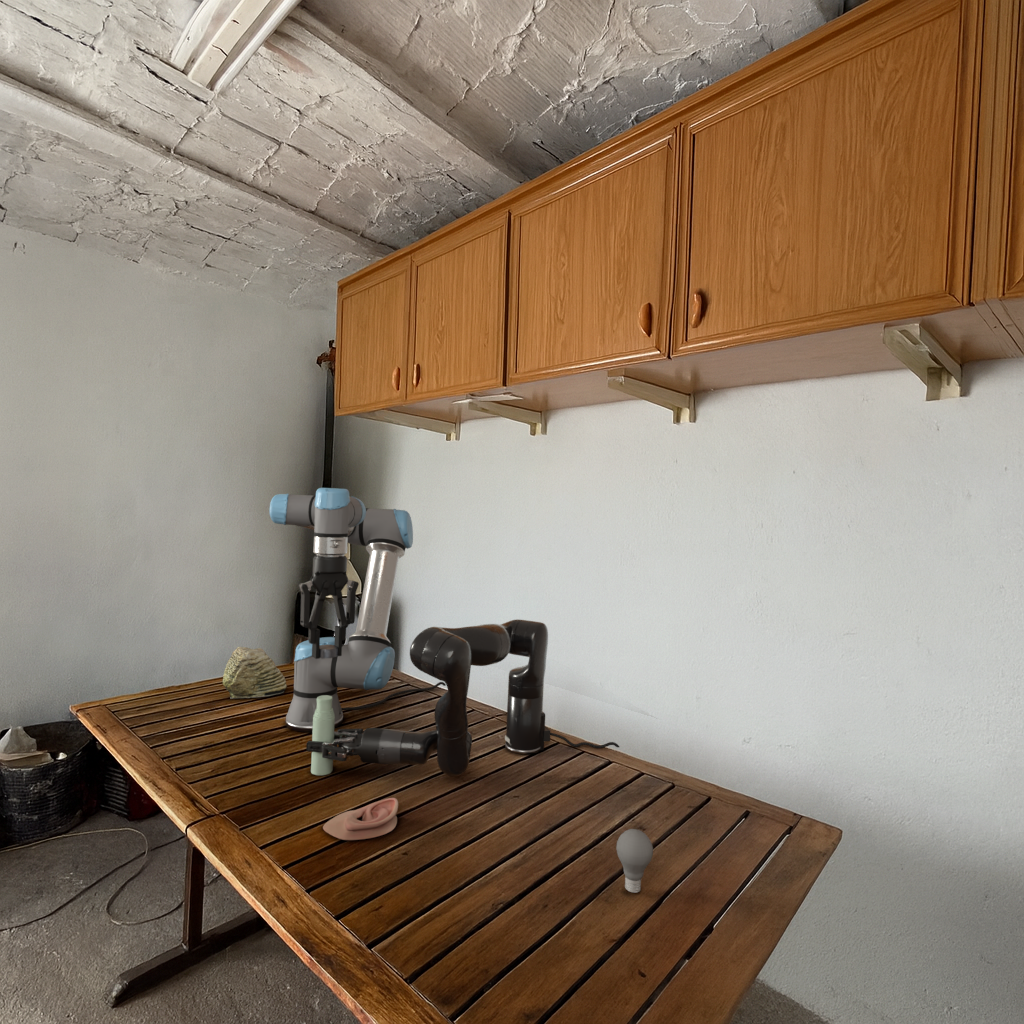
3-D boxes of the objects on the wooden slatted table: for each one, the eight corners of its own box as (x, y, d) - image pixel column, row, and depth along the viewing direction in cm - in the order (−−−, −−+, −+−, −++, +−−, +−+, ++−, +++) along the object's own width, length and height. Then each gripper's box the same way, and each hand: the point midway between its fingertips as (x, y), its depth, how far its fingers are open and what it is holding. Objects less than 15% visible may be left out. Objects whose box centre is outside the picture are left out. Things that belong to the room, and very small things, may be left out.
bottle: (306, 773, 145) (309, 698, 144) (320, 765, 149) (322, 693, 149) (323, 777, 143) (326, 702, 143) (336, 769, 148) (339, 696, 147)
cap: (341, 655, 147) (341, 646, 147) (328, 659, 143) (328, 650, 143) (325, 652, 149) (325, 643, 149) (311, 656, 145) (312, 647, 145)
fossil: (218, 695, 195) (220, 647, 195) (278, 685, 208) (279, 640, 207) (228, 703, 189) (230, 653, 188) (289, 692, 201) (290, 645, 201)
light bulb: (610, 879, 108) (613, 822, 108) (644, 879, 109) (647, 822, 109) (619, 902, 102) (622, 840, 102) (655, 901, 103) (658, 840, 103)
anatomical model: (315, 814, 118) (343, 787, 129) (314, 835, 118) (343, 807, 129) (382, 825, 115) (405, 796, 127) (381, 846, 116) (404, 816, 127)
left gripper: (296, 557, 137) (293, 664, 138) (373, 555, 148) (369, 655, 148) (286, 554, 143) (282, 656, 144) (360, 552, 154) (356, 648, 154)
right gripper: (392, 719, 152) (322, 714, 153) (376, 741, 138) (299, 736, 139) (391, 750, 152) (321, 745, 153) (375, 776, 138) (298, 770, 139)
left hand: (326, 655), depth 146 cm, fingers closed on cap, 4 cm apart
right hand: (311, 741), depth 146 cm, fingers closed on bottle, 4 cm apart
